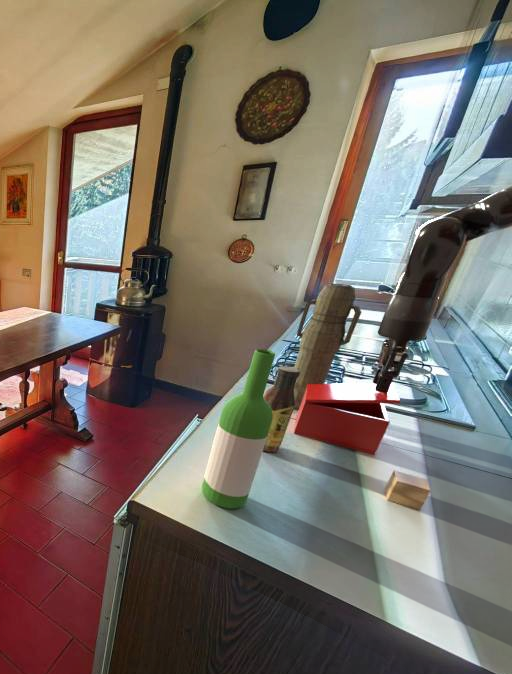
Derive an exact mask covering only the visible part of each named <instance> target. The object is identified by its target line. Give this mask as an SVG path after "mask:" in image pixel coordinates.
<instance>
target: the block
mask: <svg viewBox="0 0 512 674" xmlns="http://www.w3.org/2000/svg"><path fill="white" fill-rule="evenodd" d="M384 491H385V496H386V500H387V501H389V502H392V503H394V504H399V505H402V506H405V507H408V508H412V509H415V510H417V511H421V509H422V507H423V506H424V504H425V502H426V500H427V498H428V497H429V495H430V493H431V487H430V485H429V483H428V480H427V479H426V478H425V477H421V476H417V475H414V474H411V473H406V472H403V471H399V470H395V469H393V471H392V472H391V475H390V477H389V479H388V481H387V483H386V485H385V486H384Z"/></svg>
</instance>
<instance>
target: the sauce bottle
mask: <svg viewBox="0 0 512 674" xmlns="http://www.w3.org/2000/svg"><path fill="white" fill-rule="evenodd" d="M299 374H300V371H299V370H298V369H295V368H294V367H291V366H286V365H285V366H279V367H278V368H277V371H276V377H275V380H274V382H273V385H272V386H271V387H270V388H268V389H267V390H265V392H264V395H263V397H264V399H265V400H266V401H267V402H268V403H269V405H270V407H271V409H272V413H273V419H272V423H271V426H270V430H269V433H268V436H267V439H266V443H265V446H264V449H263V452H268V453H274V452H275V453H276V452H277V451H279V449H280V447H281V446H282V443H283V441H284V439H285V438H284V437H285V435H286V433H287V430H288V428H289V427H288V426H289V424H290V422H291V418H292V415H293V413H294V410H295V409H294V407H295V399H294V386H295V383H296V380H297V378H298V377H299Z"/></svg>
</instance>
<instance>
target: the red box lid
mask: <svg viewBox="0 0 512 674" xmlns="http://www.w3.org/2000/svg"><path fill="white" fill-rule="evenodd" d="M378 376H380V372H379V373H378ZM375 387H376V384H374V383H373V382H371V383H369V382H368V383H367V382H365V383H362V382H361V383H324V384H307V390H306V398H305V402H309V403H384V404H401V399H400V396H399V394H398V391H397V389H396V387H395V384H394V383H393V382H392V383H391V386H390V388H389V391H388V392H386V393H384V392H378V391H376V390H375Z"/></svg>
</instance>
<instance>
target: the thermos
mask: <svg viewBox="0 0 512 674" xmlns="http://www.w3.org/2000/svg"><path fill="white" fill-rule="evenodd" d="M355 301H356V287H354V286H353V285H351V284H346V283H345V284H344V283H329V284H326V285H324V287H323V288H322V289H321V291H320V292H319V293H318V296H317V297H316V299H311V300H310V301H308V302H307V303H306V304H305V305H304V309H303V312H302V315H301V319H300V321H299V325H298V328H297V332H296V336H297V337H299V339H300V341H299V351H298V354H297V357H296V359H295V363H294V366H293V368H295V369H298V370H299V371H300V374H299V377H298V378H297V380H296V383H295V386H294V399H295V407H294V410H296V411H299V408H300V405H301V402H302V399H303V396H304V394H305V391H306V388H307V384H326V380H327V378H328V375H329V373H330V370H331V367H332V364H333V361H334V359H335V356H336V355H337V354H338V353H339V352H340V349H341V346H344V345H346V344H349V343H351V342H350V341H351V338H352V336H353V334H354V331H355V329H356V326H357V324H358V321H359V319H360V317H361V314H362V310H361V307H360V306H359V305H355V304H354V303H355ZM312 304H313V305H314V307H313V310H312V315H311V317H310V319H309V322H308V323H307V324H306V325H305V322H306V319H307V316H308V313H309V310H310V306H311V305H312ZM352 310H353V312H354V314H353V317H352V319H351V322H350V325H349V327H348V330H347V333H346V325H347V319H348V317H349V316H350V314H351V311H352ZM304 325H305V326H304ZM303 328H304V330H303ZM302 331H303V332H302ZM345 335H346V336H345Z"/></svg>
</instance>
